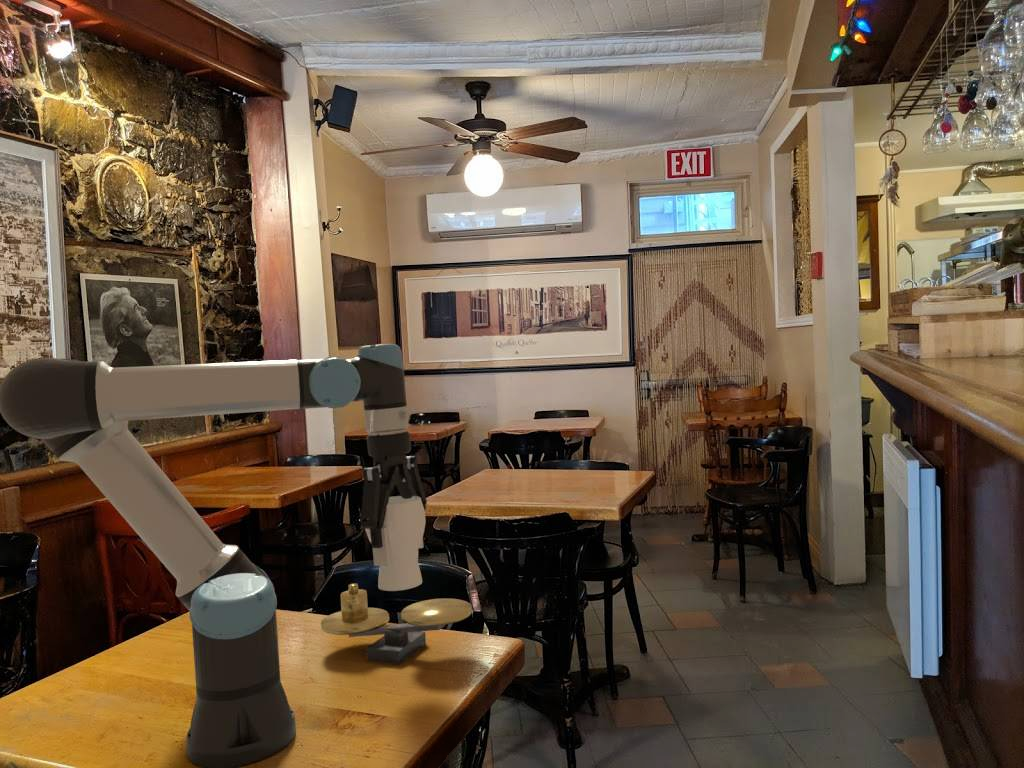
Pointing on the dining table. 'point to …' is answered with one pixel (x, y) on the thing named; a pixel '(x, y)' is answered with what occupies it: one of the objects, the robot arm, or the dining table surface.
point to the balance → (397, 637)
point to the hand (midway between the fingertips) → (399, 556)
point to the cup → (402, 543)
